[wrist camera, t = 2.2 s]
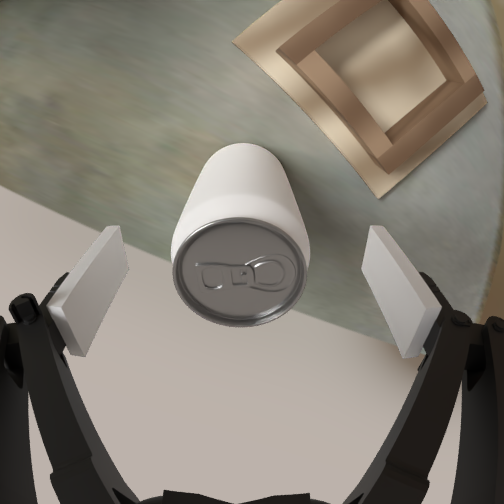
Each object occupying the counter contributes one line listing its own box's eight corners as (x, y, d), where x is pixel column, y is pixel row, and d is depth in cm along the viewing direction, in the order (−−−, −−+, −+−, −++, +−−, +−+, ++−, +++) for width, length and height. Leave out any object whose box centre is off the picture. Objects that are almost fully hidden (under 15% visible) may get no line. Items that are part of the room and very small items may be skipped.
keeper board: (232, 42, 17) (229, 36, 14) (368, -54, 12) (384, -68, 9) (374, 195, 23) (390, 212, 21) (482, 101, 18) (506, 108, 16)
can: (287, 219, 25) (312, 329, 14) (206, 224, 25) (179, 335, 14) (285, 139, 21) (321, 202, 11) (195, 145, 21) (146, 215, 11)
